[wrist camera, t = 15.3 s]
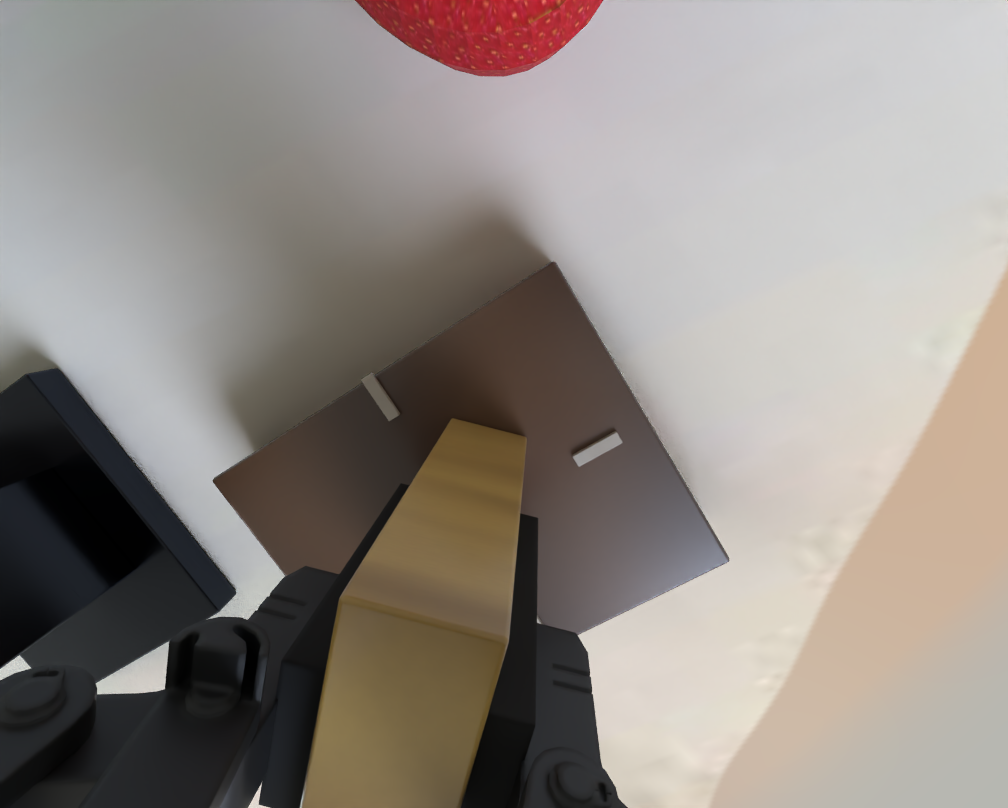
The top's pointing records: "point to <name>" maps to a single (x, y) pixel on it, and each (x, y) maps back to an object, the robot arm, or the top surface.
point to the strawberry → (484, 30)
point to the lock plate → (507, 407)
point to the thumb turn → (423, 633)
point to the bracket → (87, 541)
